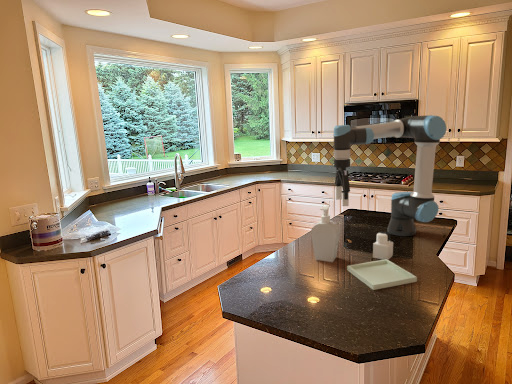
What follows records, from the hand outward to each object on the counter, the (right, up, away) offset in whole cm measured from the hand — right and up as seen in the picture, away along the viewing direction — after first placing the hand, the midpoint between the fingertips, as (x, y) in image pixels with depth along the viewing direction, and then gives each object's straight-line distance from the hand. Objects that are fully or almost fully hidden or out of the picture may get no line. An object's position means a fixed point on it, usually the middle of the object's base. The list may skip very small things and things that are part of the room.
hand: (342, 202), depth 173 cm
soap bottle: (-7, -27, 0) cm, 28 cm away
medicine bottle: (+19, -26, -2) cm, 32 cm away
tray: (+11, -30, -21) cm, 39 cm away
